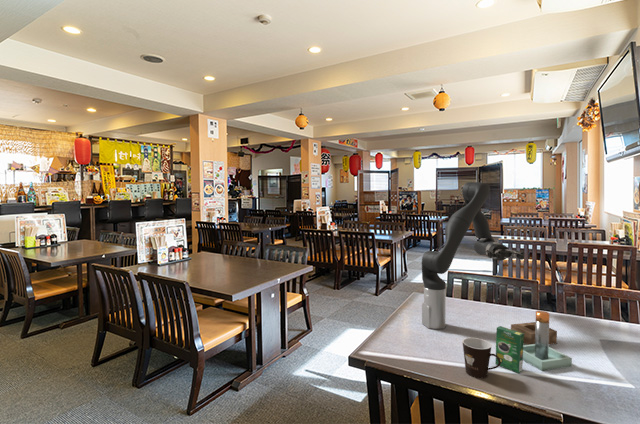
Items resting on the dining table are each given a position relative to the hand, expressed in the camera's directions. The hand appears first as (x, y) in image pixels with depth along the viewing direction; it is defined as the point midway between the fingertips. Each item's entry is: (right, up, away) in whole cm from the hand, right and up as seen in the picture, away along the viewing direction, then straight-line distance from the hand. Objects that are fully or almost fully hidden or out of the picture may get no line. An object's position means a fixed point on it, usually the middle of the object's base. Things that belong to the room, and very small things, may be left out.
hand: (511, 257), depth 143 cm
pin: (-3, -32, -24) cm, 40 cm away
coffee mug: (-29, -34, -34) cm, 56 cm away
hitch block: (+5, -32, -7) cm, 33 cm away
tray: (-3, -33, -24) cm, 41 cm away
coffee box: (-17, -34, -29) cm, 48 cm away
